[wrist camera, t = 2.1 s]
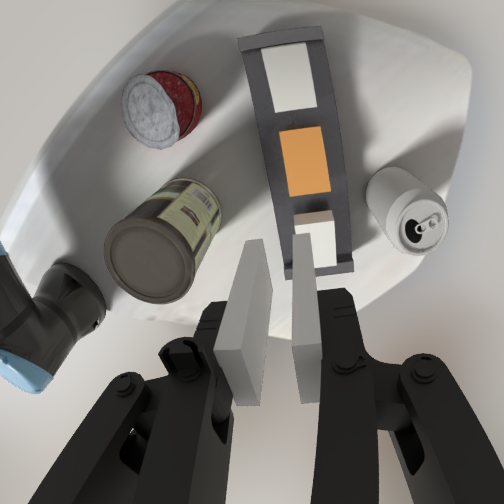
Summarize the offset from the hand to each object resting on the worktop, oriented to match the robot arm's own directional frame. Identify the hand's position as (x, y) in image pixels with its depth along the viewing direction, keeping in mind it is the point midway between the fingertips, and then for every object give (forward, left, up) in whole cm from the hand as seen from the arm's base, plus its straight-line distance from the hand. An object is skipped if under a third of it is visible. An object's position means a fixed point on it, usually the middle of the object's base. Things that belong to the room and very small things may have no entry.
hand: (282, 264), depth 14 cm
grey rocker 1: (+2, -10, -21) cm, 23 cm away
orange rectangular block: (+2, 0, -21) cm, 21 cm away
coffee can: (-15, -6, -27) cm, 31 cm away
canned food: (-14, +9, -27) cm, 32 cm away
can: (+13, -7, -27) cm, 30 cm away
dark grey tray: (+2, 0, -26) cm, 27 cm away
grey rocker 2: (+2, +9, -21) cm, 23 cm away
